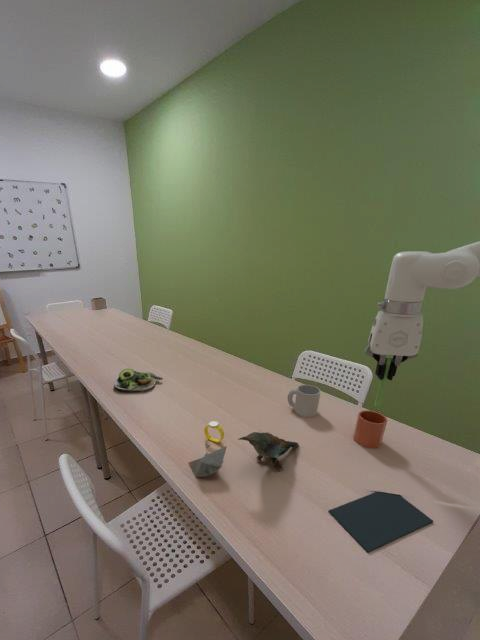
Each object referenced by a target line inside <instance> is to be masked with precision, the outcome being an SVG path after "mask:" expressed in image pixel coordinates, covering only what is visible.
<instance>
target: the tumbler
mask: <svg viewBox="0 0 480 640" xmlns="http://www.w3.org/2000/svg"><path fill="white" fill-rule="evenodd" d="M387 424H388V418H387V417H386V416H385V415H384V414H383V413H380V412H377V411H374V410H369V409H368V410H367V409H366V410H360V411H358V414H357V418H356V423H355V427H354V430H353V435H352V438H353V441H354V442H355V443H356V444H358V445H359V446H362V447H364V448H368V449H379V447H381V445H382V442H383V439H384V434H385V431H386V428H387Z"/></svg>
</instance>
